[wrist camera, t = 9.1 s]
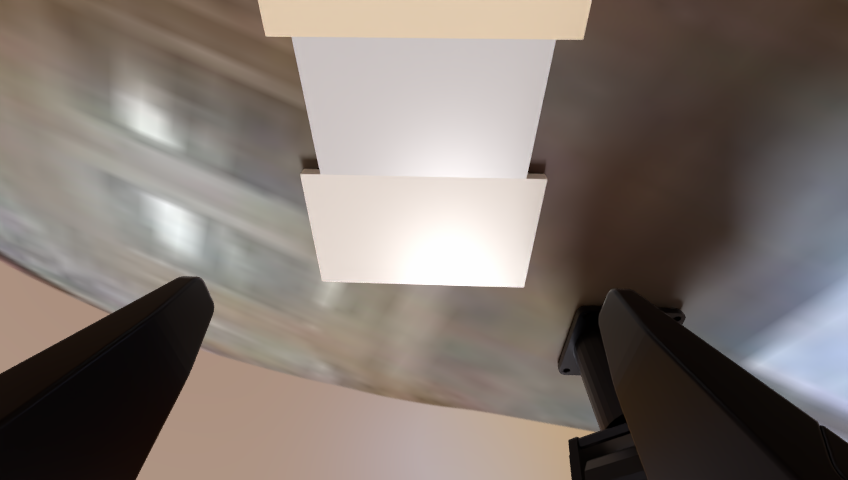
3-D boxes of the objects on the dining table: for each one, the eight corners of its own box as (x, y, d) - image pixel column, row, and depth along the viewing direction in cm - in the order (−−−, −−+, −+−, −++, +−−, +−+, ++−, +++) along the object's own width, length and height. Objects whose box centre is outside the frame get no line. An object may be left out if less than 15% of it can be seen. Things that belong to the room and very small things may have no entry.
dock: (522, 280, 22) (532, 320, 20) (324, 274, 23) (309, 313, 20) (731, -716, 7) (897, -1112, 5) (134, -690, 8) (-27, -1042, 5)
